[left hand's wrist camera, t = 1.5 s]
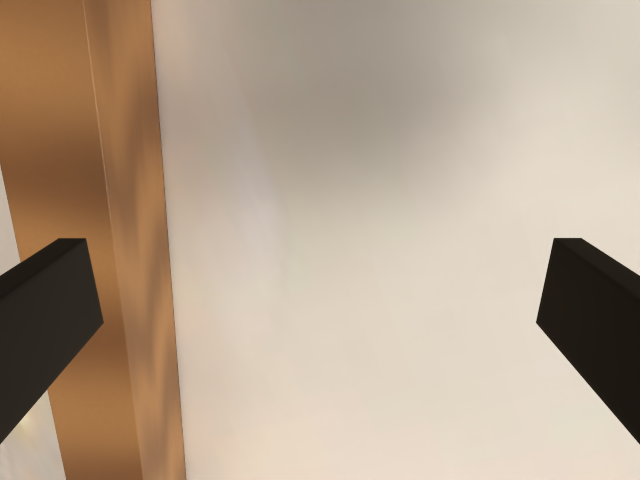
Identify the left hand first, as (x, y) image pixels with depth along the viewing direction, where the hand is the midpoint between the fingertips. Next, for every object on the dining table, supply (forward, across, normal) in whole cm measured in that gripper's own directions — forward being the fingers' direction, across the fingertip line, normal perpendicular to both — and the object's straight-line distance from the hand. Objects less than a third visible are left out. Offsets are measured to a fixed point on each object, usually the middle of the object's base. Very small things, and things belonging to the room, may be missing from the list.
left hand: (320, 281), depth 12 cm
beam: (+18, -14, -19) cm, 29 cm away
